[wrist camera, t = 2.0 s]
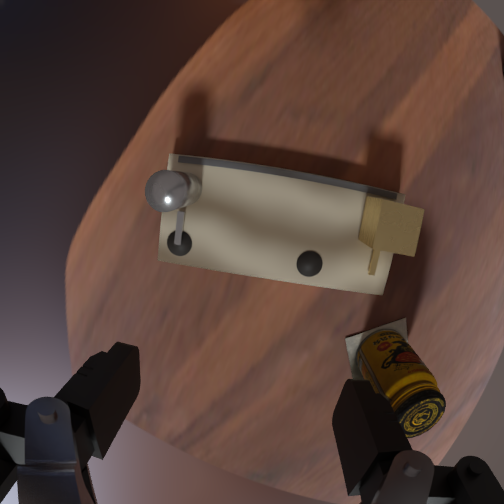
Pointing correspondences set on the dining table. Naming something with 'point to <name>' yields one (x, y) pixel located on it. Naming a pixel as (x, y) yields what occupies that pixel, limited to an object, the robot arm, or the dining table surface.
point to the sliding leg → (389, 228)
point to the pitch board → (275, 225)
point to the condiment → (397, 376)
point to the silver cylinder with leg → (173, 194)
